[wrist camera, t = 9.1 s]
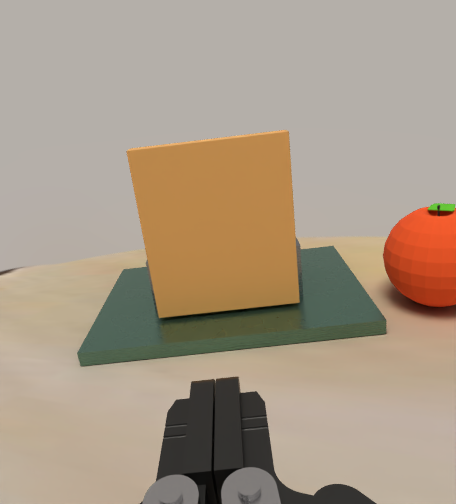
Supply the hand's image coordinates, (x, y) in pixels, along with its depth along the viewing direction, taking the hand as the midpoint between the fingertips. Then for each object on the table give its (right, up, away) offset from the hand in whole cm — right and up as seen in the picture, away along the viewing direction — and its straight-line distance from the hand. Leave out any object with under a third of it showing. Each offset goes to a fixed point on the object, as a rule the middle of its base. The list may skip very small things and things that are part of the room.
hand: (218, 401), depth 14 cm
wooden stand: (0, +2, +22) cm, 22 cm away
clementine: (+15, +1, +18) cm, 24 cm away
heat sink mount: (0, +1, +21) cm, 21 cm away
